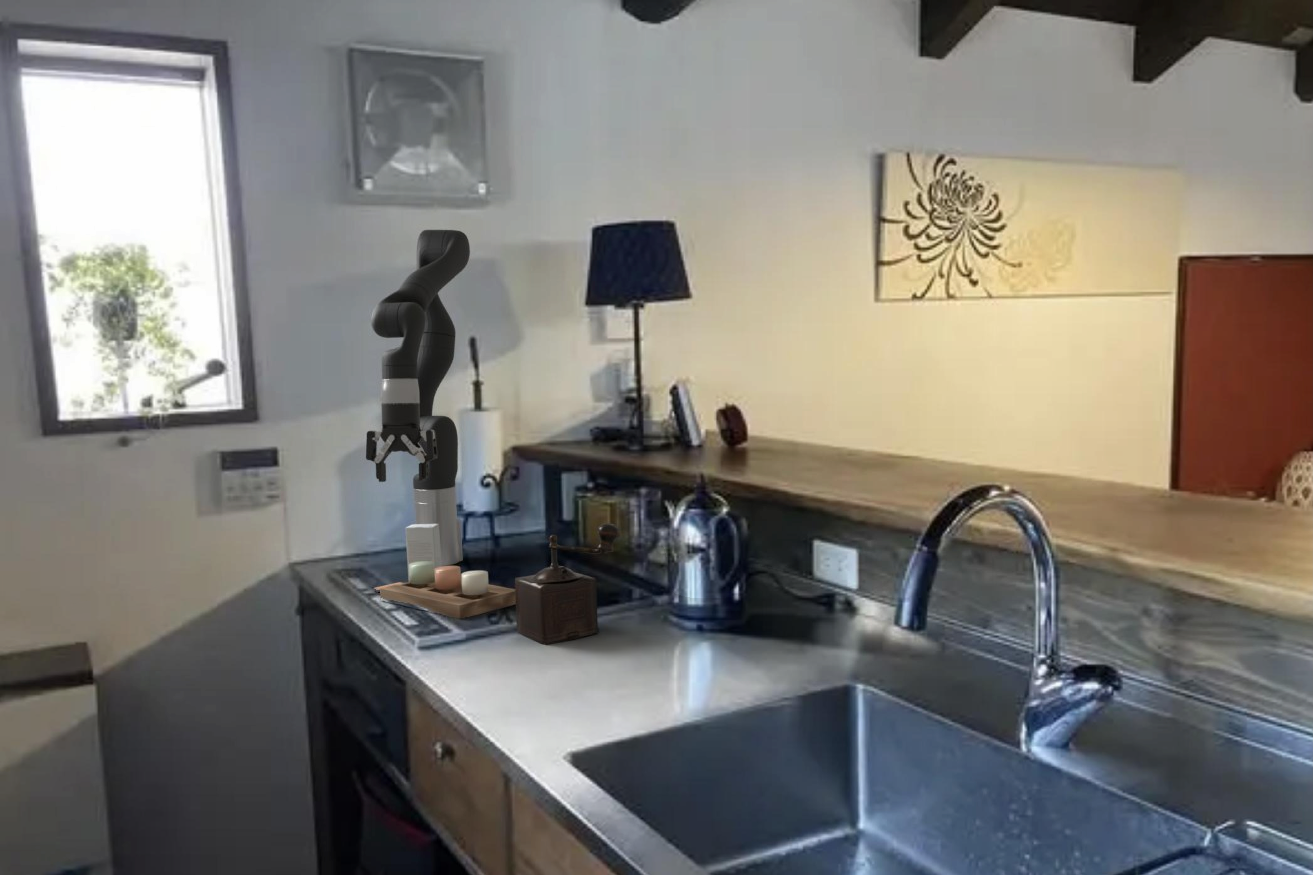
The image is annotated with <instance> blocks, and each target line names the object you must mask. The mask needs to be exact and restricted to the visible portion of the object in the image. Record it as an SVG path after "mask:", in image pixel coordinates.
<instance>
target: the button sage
mask: <svg viewBox="0 0 1313 875" xmlns="http://www.w3.org/2000/svg"><path fill="white" fill-rule="evenodd" d="M409 575H410V583H411V584H428V583H432V582H434V581H435V567H434V562H431V561H420V562H414V563H410V564H409Z"/></svg>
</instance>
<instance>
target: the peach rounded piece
mask: <svg viewBox="0 0 1313 875" xmlns="http://www.w3.org/2000/svg"><path fill="white" fill-rule="evenodd" d="M461 574H462V573H461V567H460V566H458V565H446V566H442V567H438V568H435V588H436V589H441V590H447V589H455V588H459V587H461V579H462V576H461Z"/></svg>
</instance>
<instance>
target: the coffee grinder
mask: <svg viewBox="0 0 1313 875" xmlns="http://www.w3.org/2000/svg"><path fill="white" fill-rule="evenodd" d="M596 533H597V535H598V538H599V544H598V545H597V548H591V547H590V548H589V547H582V546H570V545H569V546H564V545H559V544H558V543H557V540H558V537H557V535H555V534H551V535H550V536H549V542H550V543H549V545H548V547H549V548H550V554H551V564H550V566H547V567H545V568H543V569H541V570H539V571H538V572H537V573H536V574H532V575H527V576H520V577H515V579H514V589H515V599H516V604H515V616H516V618H515V619H516V620H515V621H516V633H518V634H519V635H521V636H523V637H525V638H528V639H530V640H532V641H534V642H536V643H539V644H541V645H544V646H547V645H552V644H553V645H554V644H557V643H562V642H563V643H564V642H568V641H572V640H577V639H579V638H583V637H587V636H591V635H595V634H598V633H600V630H599V624H598V621H599V620H598V600H597V599H598V597H597V596H598V595H597V578H595V577H591V576H589V575H585V574H582V573H578V572H574V571H573V570H572V569H570V568H569V567H566V566H562V565H559V563H558V554H557V553H558V552H557V551H558V550H559V551H561V552H571V553H574V552H575V553H585V554H591V555H592V554H593V555H597V554H603V555H605V554H608V553H609V552H613V553H614V551H615V550H614V543H615V542H616V541H617V540H618V539H619V538H620V536H621V530H620V528H619V527H618V526H616V524H613V523H606V522H604V523H602V524H600V525H598V527H597V529H596Z"/></svg>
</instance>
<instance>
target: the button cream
mask: <svg viewBox="0 0 1313 875" xmlns="http://www.w3.org/2000/svg"><path fill="white" fill-rule="evenodd" d="M461 579H462V593H463V594H465V595H480V594H485V593H487V592H489V586H488V584H489V572H488V571H487V570H468V571H464V572H462V573H461Z"/></svg>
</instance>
